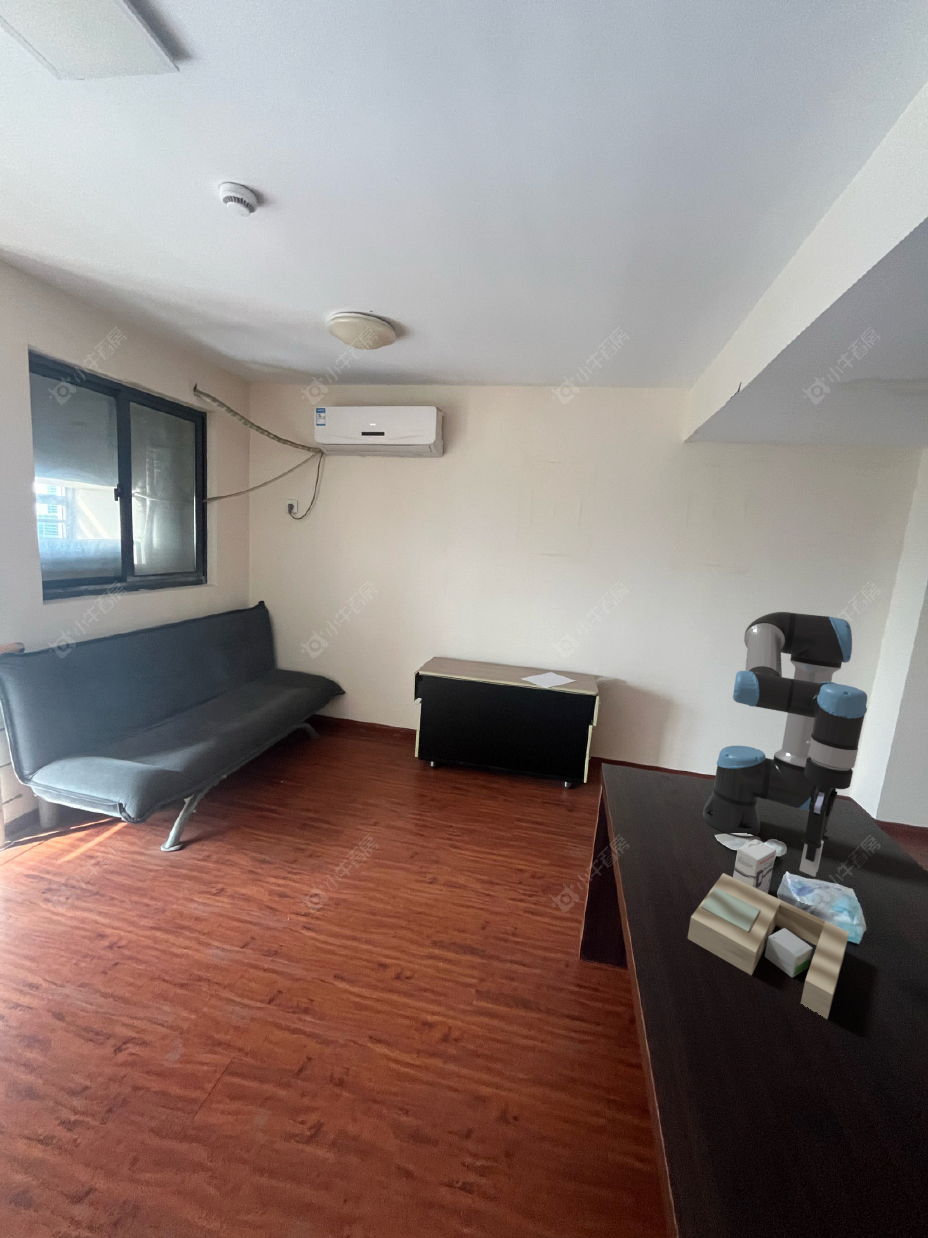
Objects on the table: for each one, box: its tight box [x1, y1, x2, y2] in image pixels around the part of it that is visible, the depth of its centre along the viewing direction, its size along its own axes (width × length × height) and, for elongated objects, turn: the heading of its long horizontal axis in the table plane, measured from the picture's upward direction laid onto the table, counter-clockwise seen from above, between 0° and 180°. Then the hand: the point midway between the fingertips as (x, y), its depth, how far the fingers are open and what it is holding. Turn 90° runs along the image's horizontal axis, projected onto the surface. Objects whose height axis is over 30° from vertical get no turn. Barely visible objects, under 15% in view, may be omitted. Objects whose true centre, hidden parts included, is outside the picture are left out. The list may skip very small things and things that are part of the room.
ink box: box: [732, 839, 777, 894], centre depth 118 cm, size 8×5×12 cm, turn 123°
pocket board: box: [687, 872, 850, 1020], centre depth 103 cm, size 21×24×5 cm
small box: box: [764, 928, 813, 978], centre depth 99 cm, size 6×6×5 cm
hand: (808, 870), depth 103 cm, fingers open, 2 cm apart
